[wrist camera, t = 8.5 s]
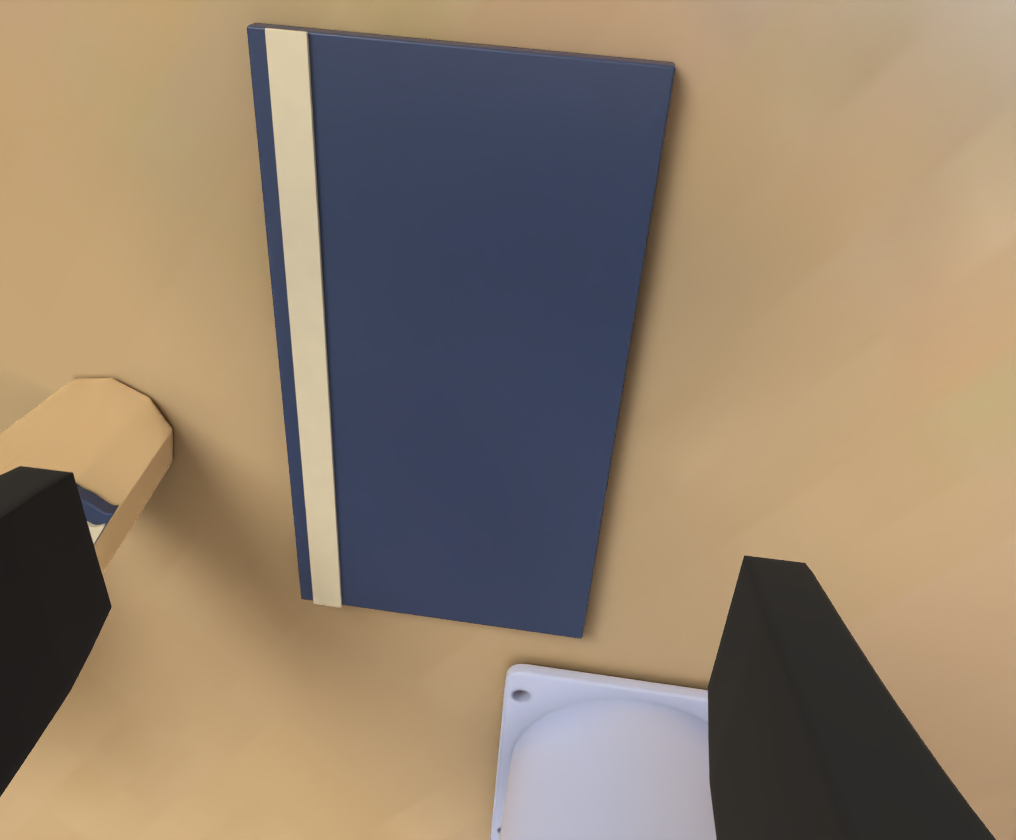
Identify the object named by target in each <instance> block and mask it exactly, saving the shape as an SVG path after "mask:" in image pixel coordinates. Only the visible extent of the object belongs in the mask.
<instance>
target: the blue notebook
mask: <svg viewBox="0 0 1016 840" xmlns="http://www.w3.org/2000/svg"><path fill="white" fill-rule="evenodd" d="M247 34H248V44H249V55H250V65H251V76H252V86H253V97H254V107H255V118H256V128H257V139H258V149H259V159H260V170H261V180H262V191H263V201H264V212H265V222H266V233H267V243H268V254H269V264H270V275H271V285H272V295H273V306H274V316H275V327H276V337H277V348H278V358H279V369H280V379H281V390H282V400H283V410H284V421H285V431H286V442H287V452H288V463H289V473H290V484H291V494H292V505H293V515H294V526H295V536H296V546H297V557H298V567H299V578H300V588H301V598H302V599H306V600H313V602H314V604H318V605H325V606H332V607H339V608H341V607H342V605H348V606H355V607H362V608H369V609H377V610H384V611H391V612H398V613H405V614H412V615H419V616H426V617H433V618H440V619H447V620H454V621H461V622H468V623H475V624H482V625H489V626H496V627H503V628H510V629H517V630H524V631H531V632H539V633H546V634H553V635H560V636H567V637H574V638H582V637H583V631H584V625H585V619H586V612H587V606H588V600H589V594H590V588H591V582H592V576H593V570H594V563H595V557H596V551H597V545H598V539H599V533H600V527H601V521H602V515H603V508H604V502H605V496H606V490H607V484H608V478H609V472H610V466H611V460H612V453H613V447H614V441H615V435H616V429H617V423H618V417H619V411H620V405H621V398H622V392H623V386H624V380H625V374H626V368H627V362H628V356H629V350H630V343H631V337H632V331H633V325H634V319H635V313H636V307H637V301H638V294H639V288H640V282H641V276H642V270H643V264H644V258H645V252H646V246H647V239H648V233H649V227H650V221H651V215H652V209H653V203H654V197H655V191H656V184H657V178H658V172H659V166H660V160H661V154H662V148H663V142H664V136H665V129H666V123H667V117H668V111H669V105H670V99H671V93H672V87H673V80H674V74H675V64H674V63H673V62H663V61H653V60H642V59H632V58H621V57H610V56H600V55H589V54H579V53H568V52H558V51H547V50H536V49H526V48H515V47H505V46H494V45H484V44H473V43H463V42H452V41H441V40H431V39H420V38H410V37H399V36H389V35H378V34H367V33H357V32H346V31H336V30H325V29H315V28H304V27H294V26H283V25H272V24H262V23H254V24H251V25H249V26H247Z"/></svg>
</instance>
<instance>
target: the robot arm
mask: <svg viewBox="0 0 1016 840" xmlns="http://www.w3.org/2000/svg"><path fill="white" fill-rule="evenodd" d="M110 609H111V603H110V600H109V596H108V593H107V589H106V586H105V582H104V579H103V575H102V572H101V568H100V565H99V561H98V558H97V554H96V551H95V547H94V544H93V540H92V537H91V533H90V530H89V526H88V523H87V519H86V516H85V512H84V509H83V506H82V502H81V499H80V495H79V492H78V488H77V485H76V481H75V478H74V474H73V472H65V471H57V470H49V469H41V468H33V467H25V466H19V467H17V468H15V469H12V470H10V471H8V472H6V473H4V474H1V475H0V796H1V795H2V794H3V792H4V791H5V789H6V788H7V786H8V785H9V783H10V782H11V780H12V779H13V777H14V776H15V774H16V773H17V771H18V770H19V768H20V767H21V765H22V764H23V762H24V761H25V759H26V758H27V756H28V755H29V753H30V752H31V750H32V749H33V747H34V746H35V744H36V743H37V741H38V740H39V738H40V737H41V735H42V734H43V732H44V731H45V729H46V728H47V726H48V724H49V723H50V721H51V720H52V718H53V717H54V715H55V714H56V712H57V711H58V709H59V708H60V706H61V705H62V703H63V701H64V700H65V698H66V697H67V695H68V694H69V692H70V690H71V689H72V687H73V685H74V683H75V681H76V679H77V677H78V675H79V673H80V671H81V669H82V667H83V665H84V663H85V661H86V660H87V658H88V656H89V654H90V652H91V650H92V648H93V645H94V643H95V641H96V639H97V637H98V635H99V633H100V631H101V628H102V626H103V624H104V622H105V620H106V618H107V616H108V614H109V611H110ZM520 690H523V691H520ZM490 840H996V839H995V838H994V836H993V835H992V834H991V833H990V831H989V830H988V829H987V827H986V826H985V825H984V824H983V822H982V821H981V820H980V818H979V817H978V816H977V814H976V813H975V812H974V811H973V809H972V808H971V807H970V805H969V804H968V803H967V801H966V800H965V799H964V797H963V796H962V795H961V793H960V792H959V791H958V789H957V788H956V786H955V785H954V784H953V782H952V781H951V780H950V778H949V777H948V776H947V774H946V773H945V772H944V770H943V769H942V767H941V766H940V765H939V763H938V762H937V760H936V759H935V757H934V756H933V755H932V753H931V752H930V750H929V749H928V748H927V746H926V745H925V743H924V742H923V740H922V739H921V738H920V736H919V735H918V733H917V732H916V730H915V729H914V728H913V726H912V725H911V723H910V722H909V720H908V719H907V718H906V716H905V715H904V713H903V712H902V711H901V709H900V708H899V706H898V705H897V703H896V702H895V700H894V699H893V697H892V696H891V694H890V693H889V691H888V690H887V688H886V687H885V685H884V684H883V682H882V681H881V679H880V678H879V676H878V675H877V673H876V672H875V670H874V669H873V667H872V666H871V664H870V663H869V661H868V660H867V658H866V656H865V655H864V653H863V652H862V650H861V649H860V647H859V646H858V644H857V643H856V641H855V640H854V638H853V636H852V635H851V633H850V632H849V630H848V628H847V627H846V625H845V624H844V622H843V621H842V619H841V617H840V616H839V614H838V613H837V611H836V609H835V608H834V606H833V605H832V603H831V601H830V600H829V598H828V596H827V595H826V593H825V592H824V590H823V588H822V587H821V585H820V584H819V582H818V580H817V579H816V577H815V576H814V574H813V573H812V571H811V570H810V569H809V567H808V566H807V565H806V564H805V563H800V562H792V561H784V560H776V559H768V558H760V557H752V556H744V559H743V562H742V566H741V569H740V573H739V577H738V580H737V584H736V588H735V591H734V595H733V598H732V602H731V606H730V609H729V613H728V617H727V620H726V624H725V627H724V631H723V635H722V638H721V642H720V646H719V649H718V653H717V656H716V660H715V664H714V667H713V671H712V674H711V678H710V682H709V685H708V690H703V689H696V688H689V687H682V686H676V685H669V684H662V683H655V682H648V681H641V680H634V679H627V678H620V677H613V676H606V675H600V674H593V673H586V672H579V671H572V670H565V669H558V668H551V667H544V666H537V665H530V664H516V665H513V666H511V667H510V668H509V669H508V671H507V674H506V681H505V691H504V701H503V712H502V722H501V733H500V743H499V754H498V764H497V774H496V785H495V795H494V806H493V816H492V827H491V837H490Z"/></svg>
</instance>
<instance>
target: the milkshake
mask: <svg viewBox="0 0 1016 840" xmlns="http://www.w3.org/2000/svg"><path fill="white" fill-rule="evenodd" d="M172 461H173V445H172V428H171V426H170V425H169V424H168V422H167V421H166V420H165V418H164V417H163V416H162V414H161V413H160V412H159V410H158V409H157V407H156V406H155V405H154V403H153V402H152V401H151V399H150V398H149V397H148V396H146V395H144V394H142V393H140V392H138V391H136V390H134V389H132V388H130V387H128V386H126V385H124V384H122V383H120V382H118V381H117V380H115V379H113V378H86V379H73V380H71V381H70V382H68V383H67V384H65V385H64V386H63V387H61V388H60V389H59V390H57V391H56V392H55V393H54V394H52V395H51V396H50V397H48V398H47V399H46V400H44V401H43V402H42V403H40V404H39V405H38V406H36V407H35V408H34V409H32V410H31V411H30V412H28V413H27V414H26V415H25V416H23V417H22V418H21V419H19V420H18V421H17V422H15V423H14V424H13V425H11V426H10V427H9V428H7V429H6V430H5V431H3V432H2V433H1V434H0V475H1V474H4V473H6V472H8V471H10V470H12V469H15V468H17V467H19V466H25V467H33V468H41V469H49V470H57V471H65V472H73V474H74V478H75V481H76V485H77V488H78V492H79V495H80V499H81V502H82V506H83V509H84V512H85V516H86V519H87V523H88V526H89V530H90V533H91V537H92V540H93V544H94V547H95V551H96V554H97V558H98V561H99V565H100V568H101V572H102V575H103V573H104V571H105V570H106V568H107V567H108V565H109V563H110V562H111V560H112V559H113V557H114V555H115V554H116V552H117V550H118V549H119V547H120V546H121V544H122V542H123V541H124V539H125V538H126V536H127V534H128V533H129V531H130V529H131V528H132V526H133V525H134V523H135V521H136V520H137V518H138V517H139V515H140V513H141V512H142V510H143V508H144V507H145V505H146V504H147V502H148V500H149V499H150V497H151V496H152V494H153V492H154V491H155V489H156V487H157V486H158V484H159V483H160V481H161V479H162V478H163V476H164V475H165V473H166V471H167V470H168V468H169V466H170V465H171V463H172Z"/></svg>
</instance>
